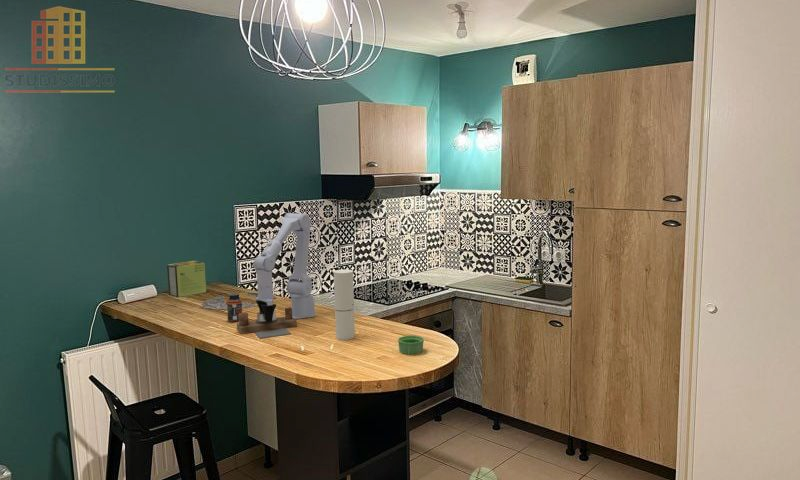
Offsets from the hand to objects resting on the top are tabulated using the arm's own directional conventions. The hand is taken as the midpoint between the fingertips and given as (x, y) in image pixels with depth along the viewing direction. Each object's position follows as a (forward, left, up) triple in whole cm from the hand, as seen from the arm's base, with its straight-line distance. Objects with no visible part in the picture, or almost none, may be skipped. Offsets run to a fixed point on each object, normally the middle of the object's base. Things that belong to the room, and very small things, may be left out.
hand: (266, 319), depth 243 cm
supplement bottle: (+9, -18, -4) cm, 20 cm away
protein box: (+20, -85, -4) cm, 87 cm away
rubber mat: (0, +9, -3) cm, 10 cm away
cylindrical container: (-23, +27, -4) cm, 36 cm away
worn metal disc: (+1, -54, -4) cm, 54 cm away
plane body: (0, 0, -3) cm, 3 cm away
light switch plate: (0, 0, 0) cm, 0 cm away
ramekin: (-37, +54, -4) cm, 66 cm away
